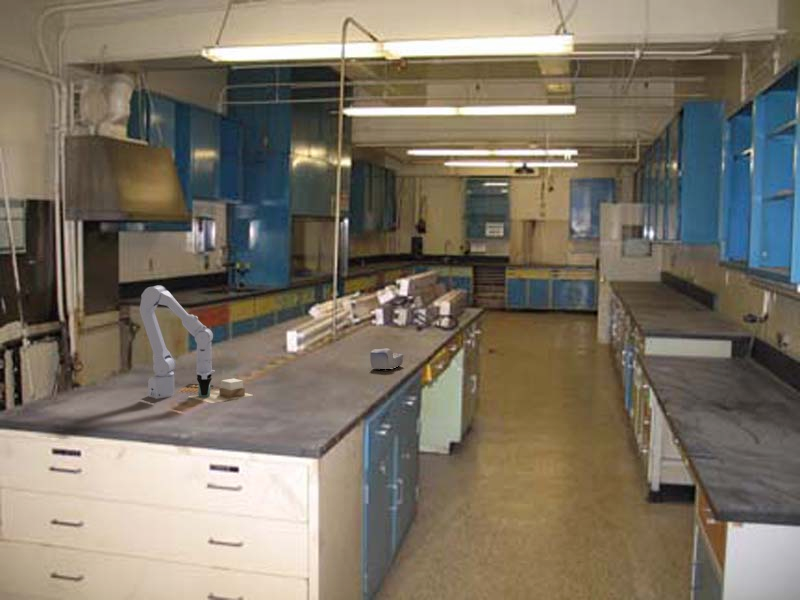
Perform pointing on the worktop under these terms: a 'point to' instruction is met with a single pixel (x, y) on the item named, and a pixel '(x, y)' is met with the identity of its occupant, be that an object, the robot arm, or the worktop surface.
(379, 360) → the grey stepped block
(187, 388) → the ammunition clip
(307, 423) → the worktop surface
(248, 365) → the worktop surface
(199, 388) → the teal piece
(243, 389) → the tower base
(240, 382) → the tower top
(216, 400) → the birch board
